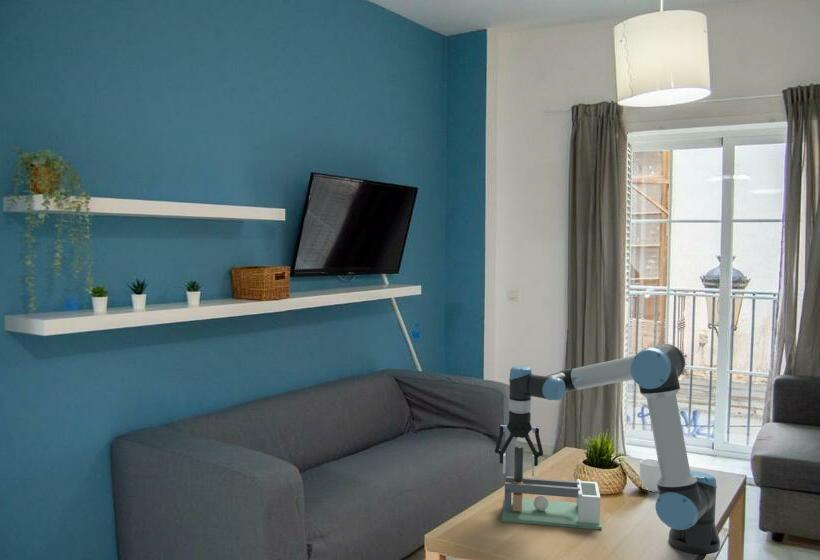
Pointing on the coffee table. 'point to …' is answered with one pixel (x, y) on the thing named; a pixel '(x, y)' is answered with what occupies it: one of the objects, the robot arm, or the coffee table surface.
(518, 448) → the post
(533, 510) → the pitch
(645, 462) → the mug
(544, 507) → the ball
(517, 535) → the coffee table surface
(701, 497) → the robot arm
